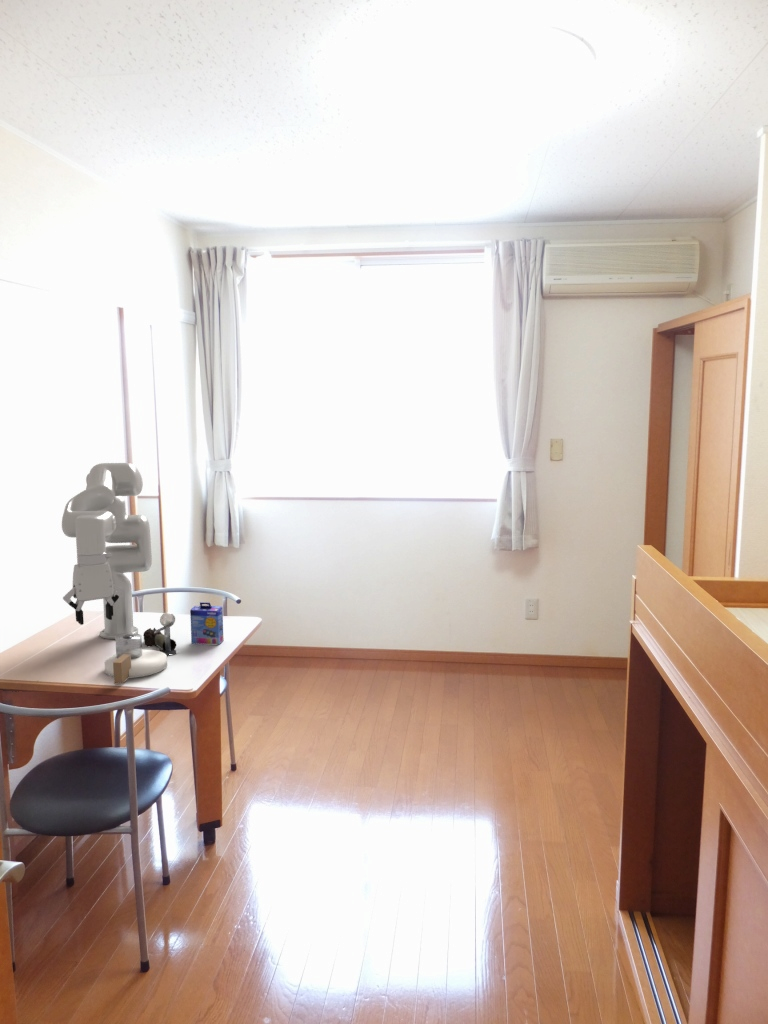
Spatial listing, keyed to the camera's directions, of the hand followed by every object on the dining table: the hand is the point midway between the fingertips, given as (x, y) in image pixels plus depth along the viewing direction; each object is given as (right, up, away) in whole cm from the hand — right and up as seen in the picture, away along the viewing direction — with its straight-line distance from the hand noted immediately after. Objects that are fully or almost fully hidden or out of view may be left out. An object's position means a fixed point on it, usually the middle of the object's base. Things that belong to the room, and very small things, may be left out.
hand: (95, 620), depth 208 cm
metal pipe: (+6, -15, +40) cm, 43 cm away
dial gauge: (+10, -16, +31) cm, 36 cm away
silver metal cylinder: (+2, -14, +21) cm, 25 cm away
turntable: (+6, -17, +16) cm, 24 cm away
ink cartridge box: (+21, -14, +44) cm, 51 cm away
